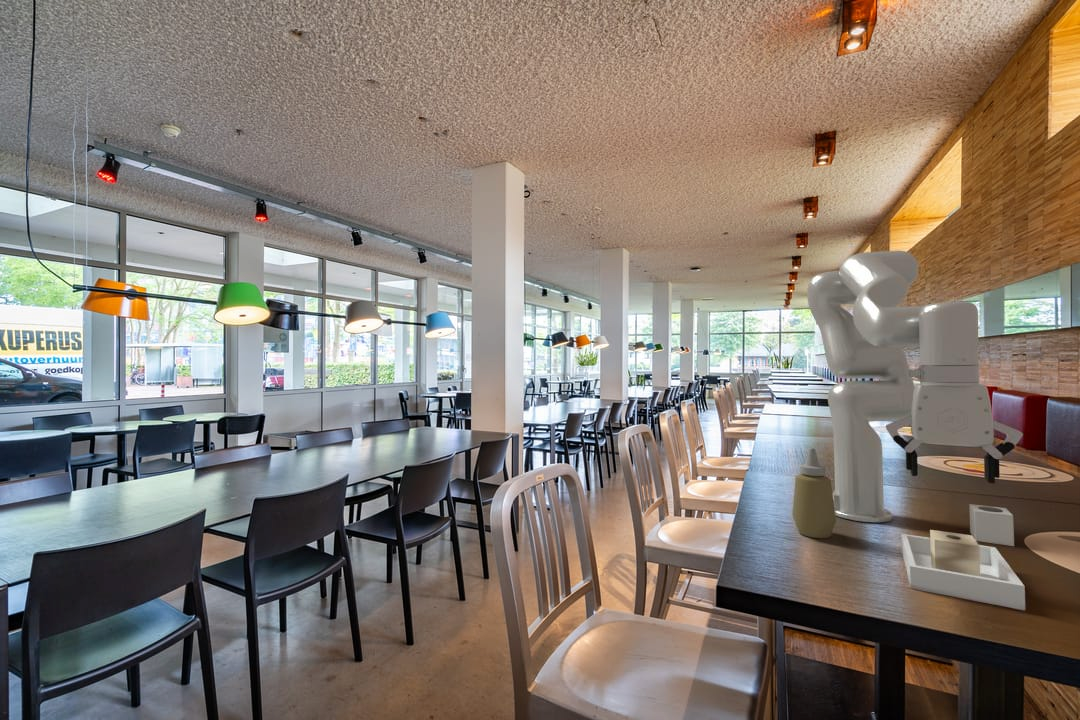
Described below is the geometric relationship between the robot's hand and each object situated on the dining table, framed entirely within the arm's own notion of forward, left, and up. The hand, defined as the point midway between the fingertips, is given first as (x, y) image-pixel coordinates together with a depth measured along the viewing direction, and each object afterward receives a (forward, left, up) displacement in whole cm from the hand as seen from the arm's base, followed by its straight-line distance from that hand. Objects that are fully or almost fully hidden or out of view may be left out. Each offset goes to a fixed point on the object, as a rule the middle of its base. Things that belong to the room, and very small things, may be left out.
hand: (950, 478), depth 79 cm
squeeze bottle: (-21, +11, -17) cm, 29 cm away
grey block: (+9, +26, -17) cm, 32 cm away
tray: (0, 0, -16) cm, 16 cm away
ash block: (0, 0, -16) cm, 16 cm away
